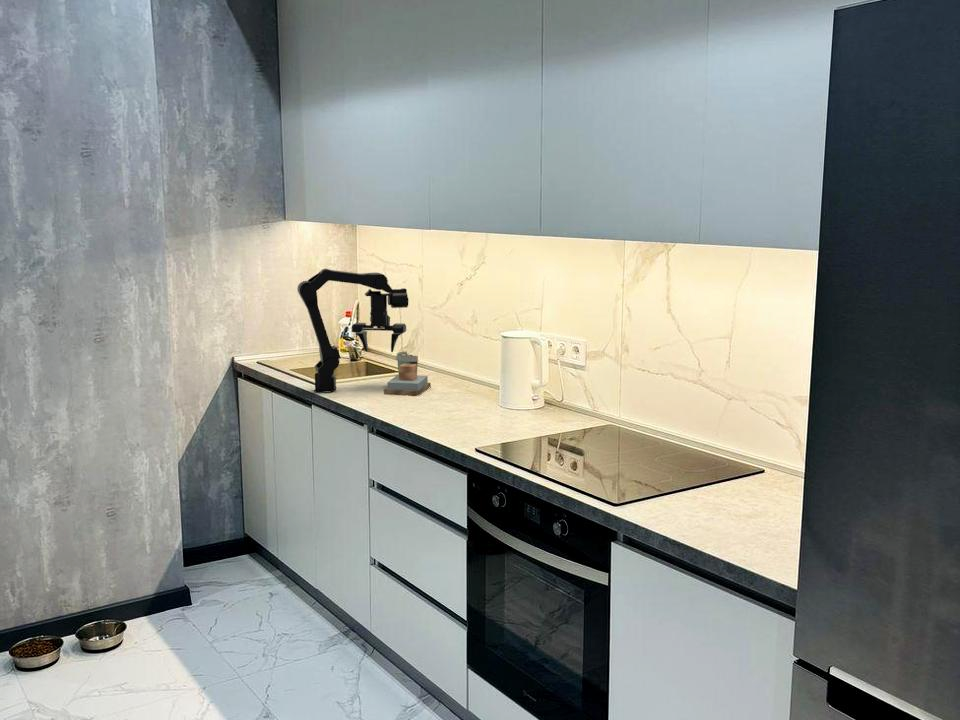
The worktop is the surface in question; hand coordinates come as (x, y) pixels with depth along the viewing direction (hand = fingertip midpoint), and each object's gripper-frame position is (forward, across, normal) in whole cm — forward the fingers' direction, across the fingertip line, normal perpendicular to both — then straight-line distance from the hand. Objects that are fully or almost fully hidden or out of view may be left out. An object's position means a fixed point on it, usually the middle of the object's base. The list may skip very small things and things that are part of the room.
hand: (379, 351), depth 350 cm
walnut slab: (+14, -11, +4) cm, 18 cm away
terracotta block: (+9, -11, +4) cm, 15 cm away
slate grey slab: (+11, -11, +4) cm, 16 cm away
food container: (+13, -6, -15) cm, 21 cm away
